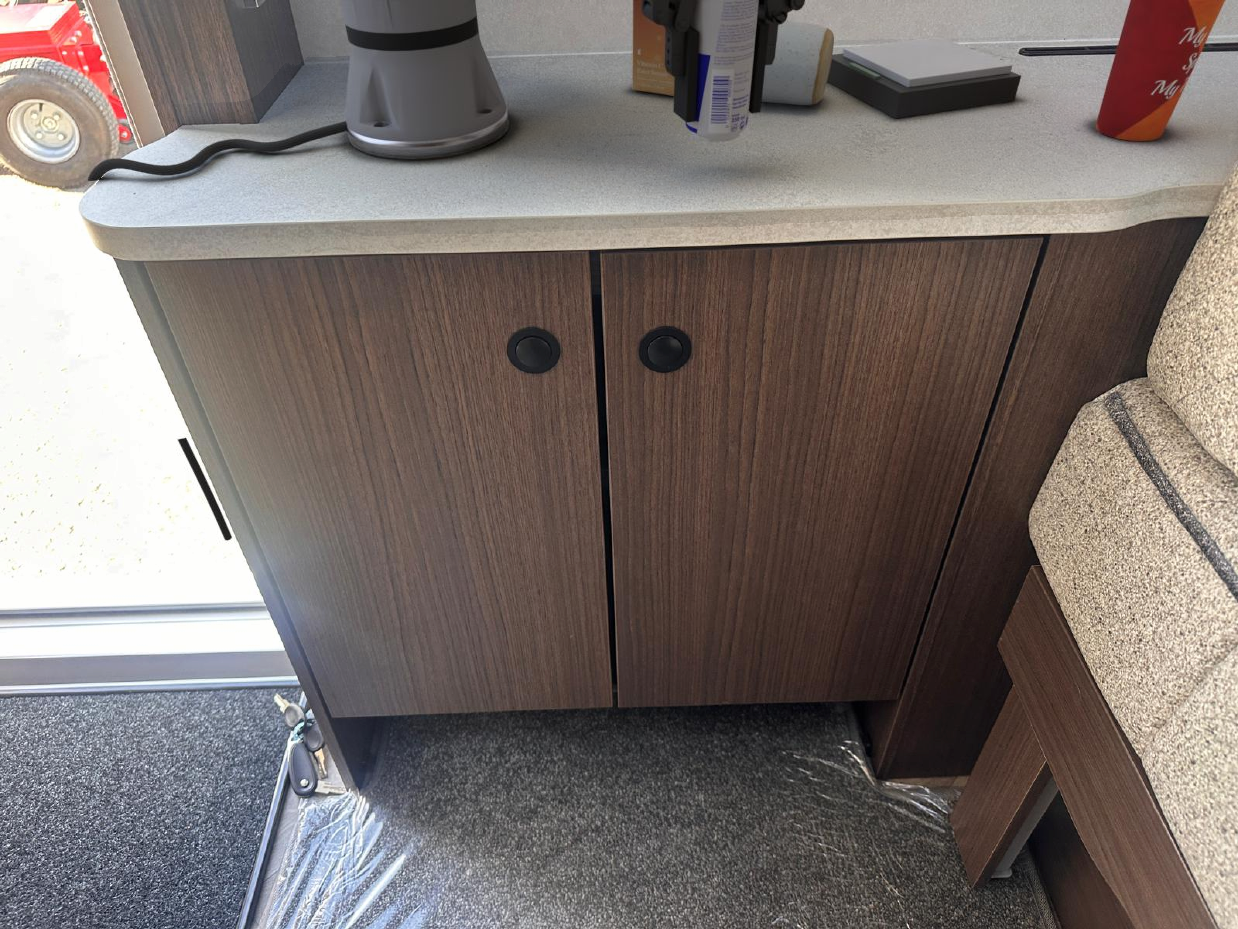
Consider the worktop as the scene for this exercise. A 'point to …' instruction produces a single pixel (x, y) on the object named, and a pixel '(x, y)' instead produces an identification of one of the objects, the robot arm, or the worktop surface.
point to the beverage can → (723, 67)
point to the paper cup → (1153, 65)
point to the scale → (922, 76)
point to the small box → (649, 55)
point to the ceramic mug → (799, 64)
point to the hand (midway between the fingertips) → (716, 111)
